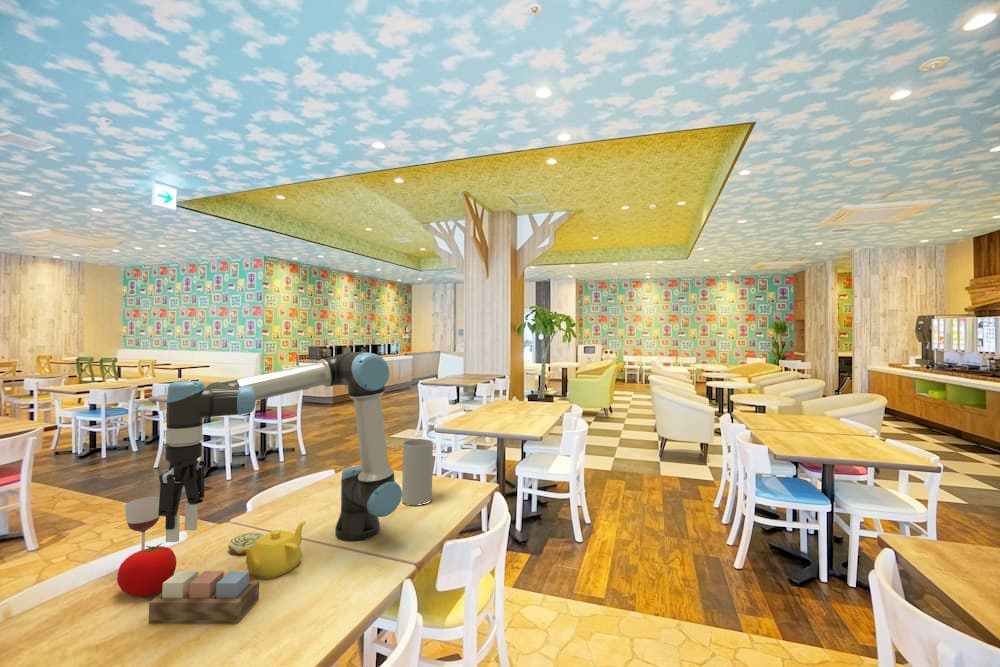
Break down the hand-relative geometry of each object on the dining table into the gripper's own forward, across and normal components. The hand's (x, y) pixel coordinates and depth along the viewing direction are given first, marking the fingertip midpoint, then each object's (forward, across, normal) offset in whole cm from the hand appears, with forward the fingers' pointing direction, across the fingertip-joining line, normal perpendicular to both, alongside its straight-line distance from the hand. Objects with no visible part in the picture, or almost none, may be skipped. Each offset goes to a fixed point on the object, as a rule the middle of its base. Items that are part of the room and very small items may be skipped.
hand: (181, 535), depth 113 cm
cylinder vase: (+19, -78, +46) cm, 93 cm away
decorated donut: (+19, -34, -2) cm, 39 cm away
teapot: (+19, -21, +14) cm, 32 cm away
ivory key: (+15, 0, 0) cm, 15 cm away
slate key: (+15, 0, +13) cm, 20 cm away
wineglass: (+19, -20, -24) cm, 37 cm away
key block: (+19, 0, +6) cm, 20 cm away
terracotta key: (+15, 0, +7) cm, 17 cm away
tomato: (+19, -9, -14) cm, 26 cm away
